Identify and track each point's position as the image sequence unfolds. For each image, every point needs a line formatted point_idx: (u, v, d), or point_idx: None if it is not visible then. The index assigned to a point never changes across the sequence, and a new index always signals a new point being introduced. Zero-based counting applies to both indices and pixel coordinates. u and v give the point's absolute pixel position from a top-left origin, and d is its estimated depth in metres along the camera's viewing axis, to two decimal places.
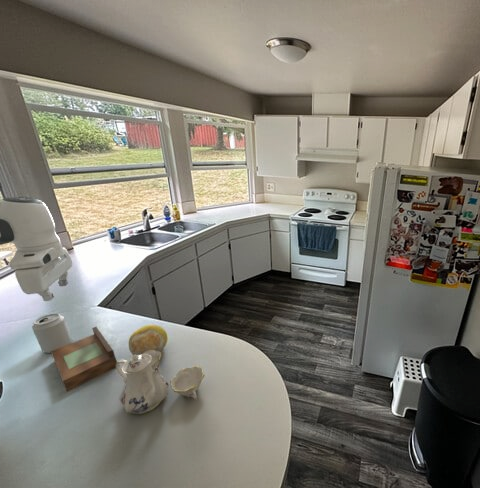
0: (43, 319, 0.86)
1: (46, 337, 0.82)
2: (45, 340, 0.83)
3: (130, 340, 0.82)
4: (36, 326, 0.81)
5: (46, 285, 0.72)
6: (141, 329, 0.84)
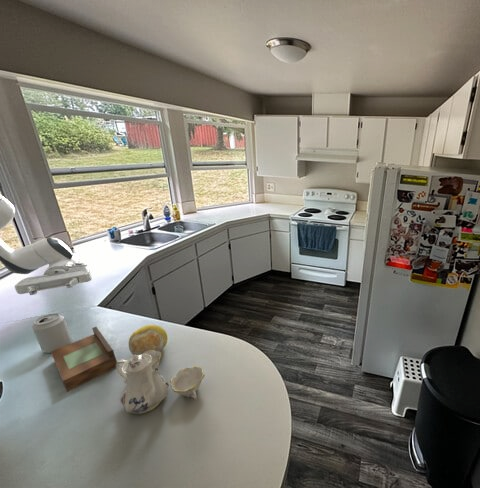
0: (43, 319, 0.86)
1: (46, 337, 0.82)
2: (45, 340, 0.83)
3: (130, 340, 0.82)
4: (36, 326, 0.81)
5: None
6: (141, 329, 0.84)
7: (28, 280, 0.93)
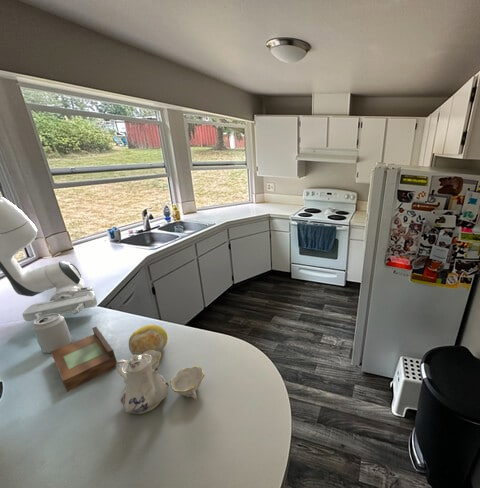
0: (43, 319, 0.86)
1: (46, 337, 0.82)
2: (45, 340, 0.83)
3: (130, 340, 0.82)
4: (36, 326, 0.81)
5: None
6: (141, 329, 0.84)
7: (35, 307, 0.95)
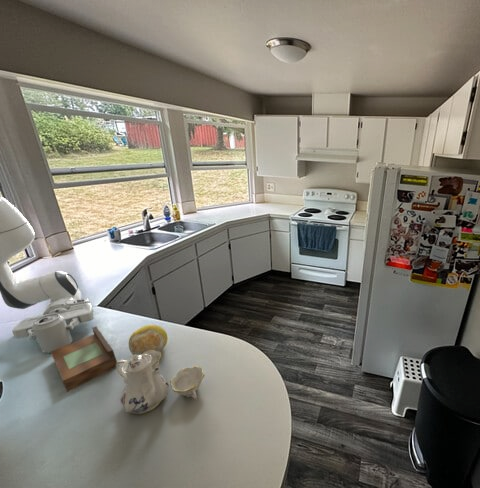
0: (43, 319, 0.86)
1: (46, 337, 0.82)
2: (45, 340, 0.83)
3: (130, 340, 0.82)
4: (36, 326, 0.81)
5: None
6: (141, 329, 0.84)
7: (27, 322, 0.87)
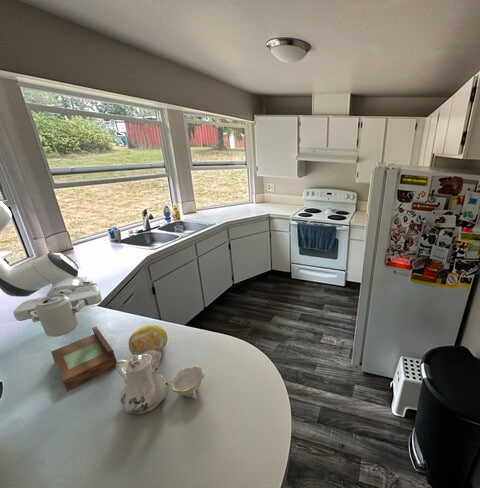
0: (47, 300, 0.79)
1: (50, 319, 0.75)
2: (49, 323, 0.76)
3: (130, 340, 0.82)
4: (39, 307, 0.74)
5: None
6: (141, 329, 0.84)
7: (29, 304, 0.80)
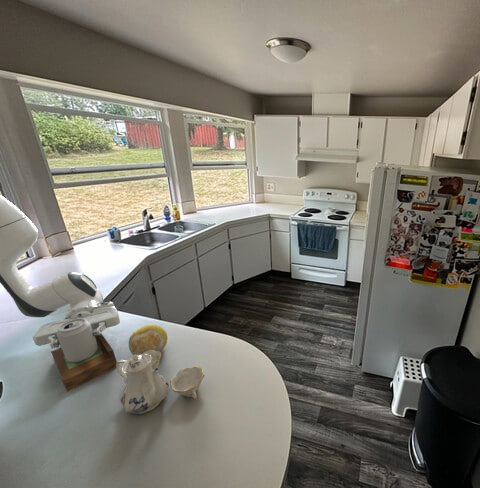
0: (67, 325, 0.78)
1: (72, 344, 0.74)
2: (70, 349, 0.74)
3: (130, 340, 0.82)
4: (61, 333, 0.73)
5: None
6: (141, 329, 0.84)
7: (48, 328, 0.78)
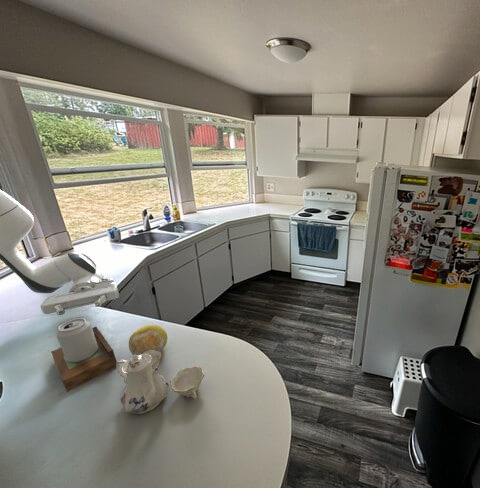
0: (67, 325, 0.78)
1: (72, 344, 0.74)
2: (70, 349, 0.74)
3: (130, 340, 0.82)
4: (61, 333, 0.73)
5: None
6: (141, 329, 0.84)
7: (54, 298, 0.87)
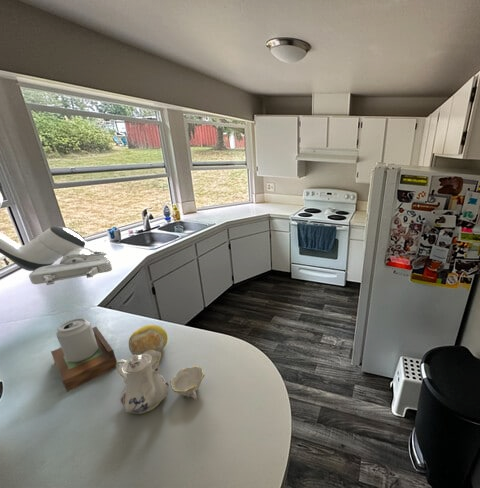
0: (67, 325, 0.78)
1: (72, 344, 0.74)
2: (70, 349, 0.74)
3: (130, 340, 0.82)
4: (61, 333, 0.73)
5: None
6: (141, 329, 0.84)
7: (43, 269, 0.83)
